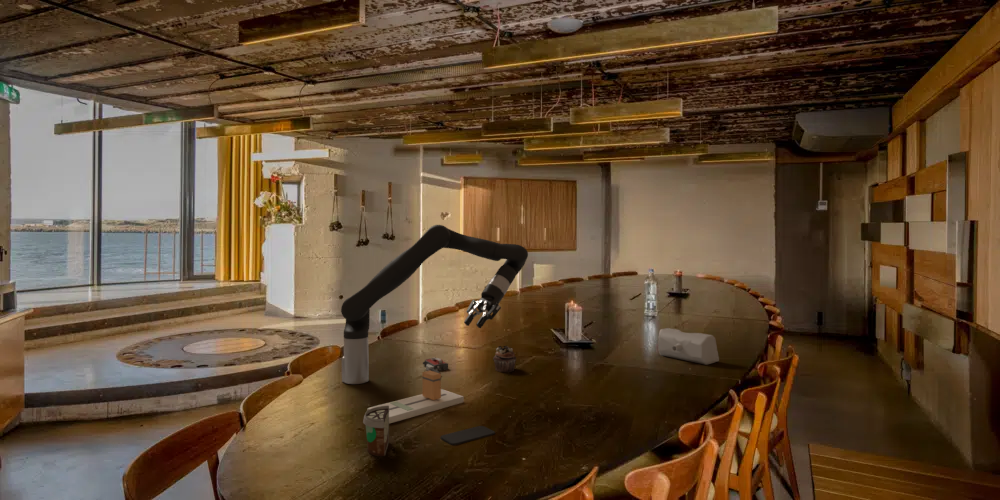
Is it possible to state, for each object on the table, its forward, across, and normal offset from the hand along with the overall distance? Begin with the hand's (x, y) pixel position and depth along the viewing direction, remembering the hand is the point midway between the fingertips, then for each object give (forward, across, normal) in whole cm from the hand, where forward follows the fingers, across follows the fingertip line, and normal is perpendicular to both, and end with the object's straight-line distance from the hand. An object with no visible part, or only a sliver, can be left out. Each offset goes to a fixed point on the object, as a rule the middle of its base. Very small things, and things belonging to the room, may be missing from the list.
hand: (472, 325), depth 198 cm
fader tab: (+28, 0, +3) cm, 29 cm away
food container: (+54, +20, -20) cm, 61 cm away
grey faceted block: (-54, +29, +90) cm, 109 cm away
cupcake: (-4, -15, +40) cm, 42 cm away
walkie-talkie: (+10, -35, +25) cm, 44 cm away
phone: (+37, +30, -2) cm, 48 cm away
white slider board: (+34, 0, 0) cm, 34 cm away
